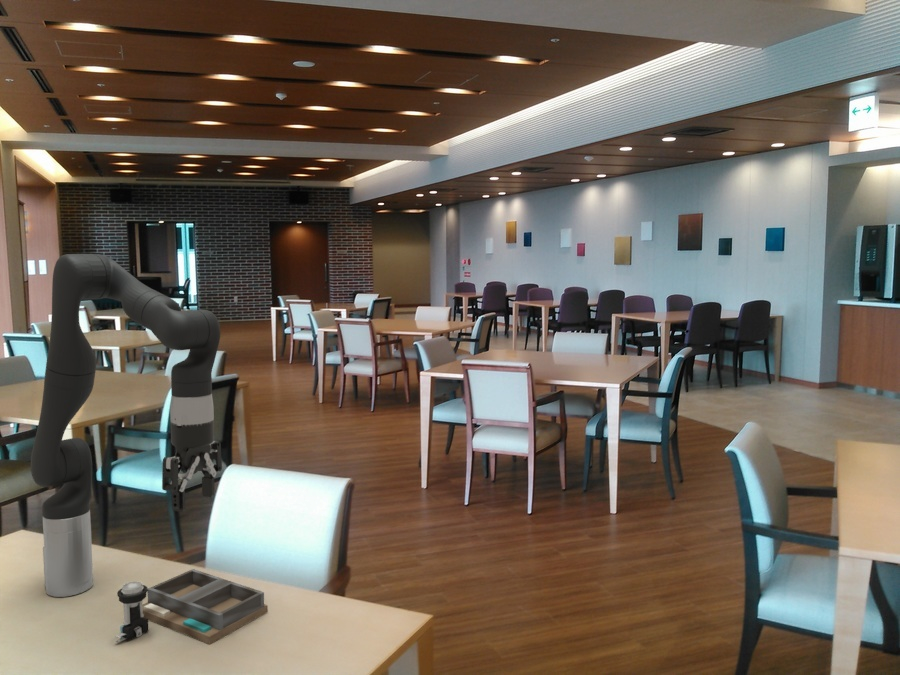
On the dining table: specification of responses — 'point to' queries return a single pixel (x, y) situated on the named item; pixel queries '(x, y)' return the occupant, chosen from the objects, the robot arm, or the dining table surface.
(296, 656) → the dining table surface
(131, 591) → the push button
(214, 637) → the dock
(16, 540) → the dining table surface
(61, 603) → the dining table surface
